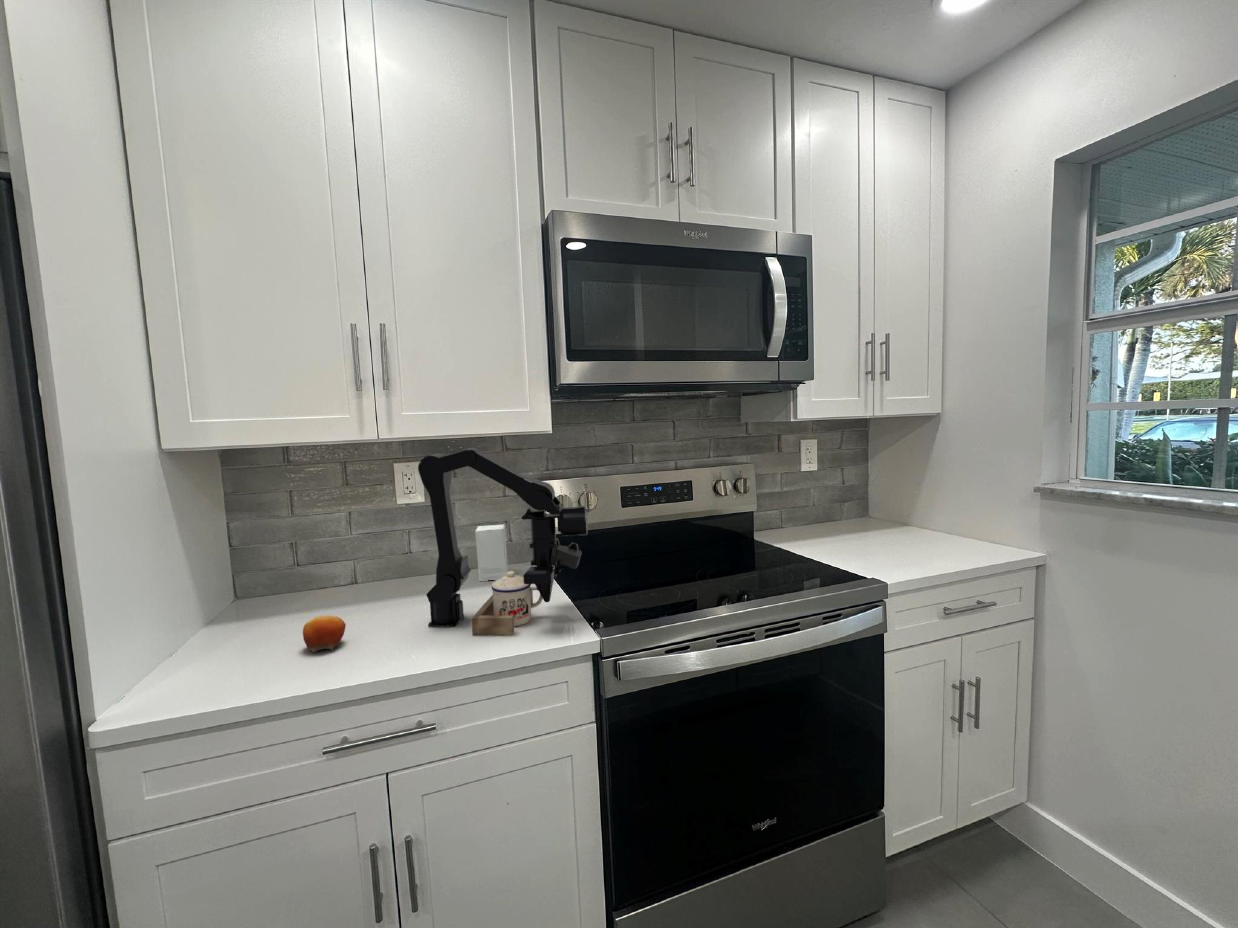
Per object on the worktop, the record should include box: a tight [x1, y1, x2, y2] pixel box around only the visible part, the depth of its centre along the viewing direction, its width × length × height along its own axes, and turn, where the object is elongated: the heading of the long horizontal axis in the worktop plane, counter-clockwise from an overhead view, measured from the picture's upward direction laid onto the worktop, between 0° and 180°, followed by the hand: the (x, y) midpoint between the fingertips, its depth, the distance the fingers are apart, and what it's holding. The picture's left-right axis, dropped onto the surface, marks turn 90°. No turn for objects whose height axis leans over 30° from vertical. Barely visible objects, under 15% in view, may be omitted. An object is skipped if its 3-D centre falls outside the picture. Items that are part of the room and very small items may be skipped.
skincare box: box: [474, 524, 509, 582], centre depth 161 cm, size 8×7×16 cm
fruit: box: [302, 615, 347, 655], centre depth 115 cm, size 8×8×8 cm
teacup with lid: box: [491, 570, 544, 627], centre depth 128 cm, size 12×9×12 cm
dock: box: [471, 590, 534, 637], centre depth 129 cm, size 9×20×4 cm, turn 176°
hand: (547, 601), depth 128 cm, fingers closed
